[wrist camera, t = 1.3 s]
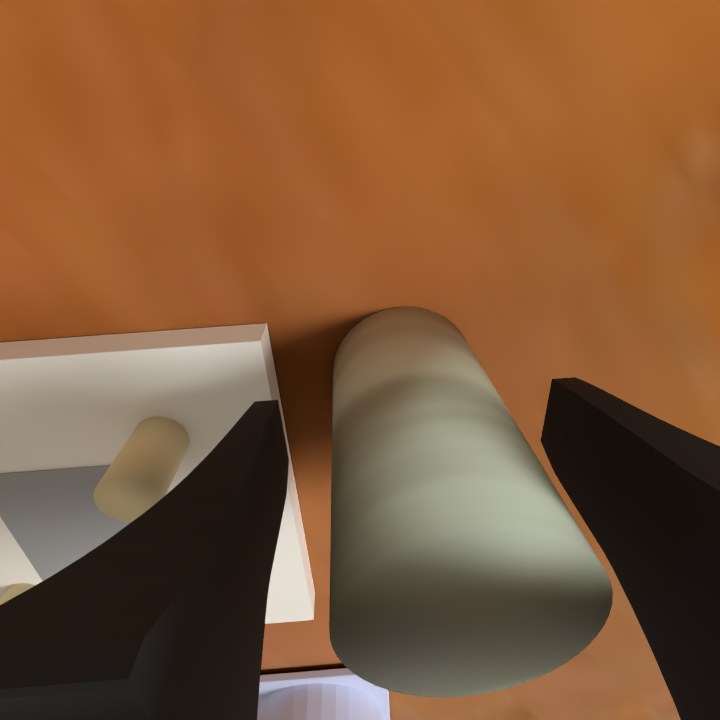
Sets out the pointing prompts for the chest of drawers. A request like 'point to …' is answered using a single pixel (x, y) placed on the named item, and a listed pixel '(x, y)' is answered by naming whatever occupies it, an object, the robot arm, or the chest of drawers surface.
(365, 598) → the peg
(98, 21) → the chest of drawers surface
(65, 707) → the robot arm
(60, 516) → the base plate
